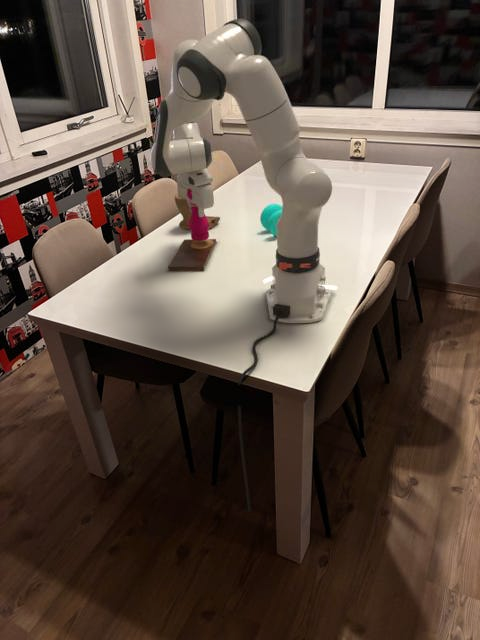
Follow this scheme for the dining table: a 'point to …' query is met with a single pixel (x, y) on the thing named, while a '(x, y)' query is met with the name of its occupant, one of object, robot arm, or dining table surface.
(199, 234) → the pepper mill
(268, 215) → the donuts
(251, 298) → the dining table surface
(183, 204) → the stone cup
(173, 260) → the serving board
